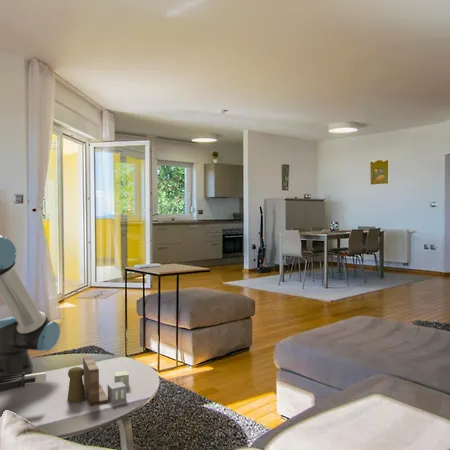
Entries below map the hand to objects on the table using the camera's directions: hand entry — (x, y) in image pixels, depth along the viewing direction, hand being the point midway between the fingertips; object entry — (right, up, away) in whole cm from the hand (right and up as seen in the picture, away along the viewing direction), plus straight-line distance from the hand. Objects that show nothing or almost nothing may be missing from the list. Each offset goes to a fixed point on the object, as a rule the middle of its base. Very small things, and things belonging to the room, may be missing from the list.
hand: (45, 376), depth 151 cm
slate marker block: (+21, -7, +3) cm, 22 cm away
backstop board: (+15, -9, +7) cm, 19 cm away
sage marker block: (+22, -4, +16) cm, 28 cm away
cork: (+9, -10, +5) cm, 14 cm away
